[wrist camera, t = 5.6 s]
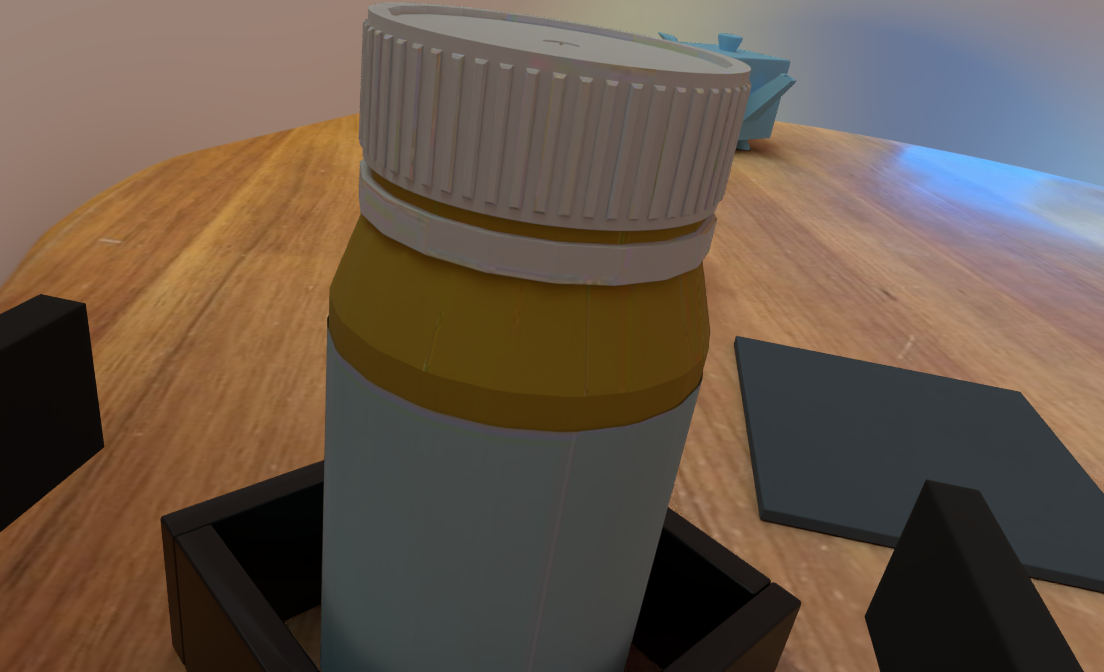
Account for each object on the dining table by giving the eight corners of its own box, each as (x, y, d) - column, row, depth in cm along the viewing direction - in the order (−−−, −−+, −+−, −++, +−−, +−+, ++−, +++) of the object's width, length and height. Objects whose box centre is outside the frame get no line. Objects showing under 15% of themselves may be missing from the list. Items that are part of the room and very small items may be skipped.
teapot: (728, 167, 76) (758, 46, 71) (597, 122, 87) (615, 14, 82) (809, 158, 86) (840, 52, 81) (683, 119, 97) (704, 23, 92)
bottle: (350, 877, 15) (395, 49, 8) (301, 606, 20) (305, -16, 14) (662, 771, 18) (882, 97, 11) (544, 559, 23) (643, 27, 17)
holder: (171, 646, 19) (159, 515, 17) (495, 497, 25) (510, 394, 24) (414, 1060, 12) (434, 922, 11) (757, 719, 19) (803, 601, 17)
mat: (759, 520, 26) (764, 508, 26) (733, 344, 39) (735, 335, 39) (1182, 610, 26) (1190, 598, 25) (1016, 400, 38) (1020, 391, 38)
